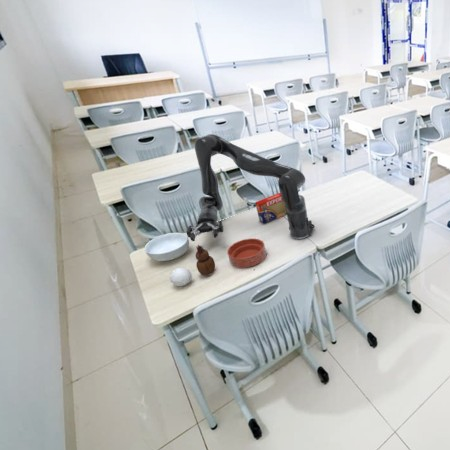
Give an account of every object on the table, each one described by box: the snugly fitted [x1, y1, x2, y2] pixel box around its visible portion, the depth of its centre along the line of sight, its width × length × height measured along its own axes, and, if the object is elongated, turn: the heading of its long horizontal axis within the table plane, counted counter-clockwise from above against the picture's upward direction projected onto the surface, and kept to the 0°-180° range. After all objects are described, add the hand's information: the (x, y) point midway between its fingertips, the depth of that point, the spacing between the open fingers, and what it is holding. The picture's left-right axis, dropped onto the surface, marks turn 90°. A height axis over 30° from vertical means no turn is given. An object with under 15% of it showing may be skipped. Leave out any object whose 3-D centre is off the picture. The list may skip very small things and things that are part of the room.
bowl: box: [226, 238, 267, 268], centre depth 156 cm, size 15×15×6 cm
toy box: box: [254, 192, 287, 225], centre depth 185 cm, size 18×4×12 cm, turn 138°
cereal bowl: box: [144, 232, 190, 262], centre depth 157 cm, size 17×17×7 cm
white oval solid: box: [165, 267, 193, 287], centre depth 140 cm, size 10×7×7 cm
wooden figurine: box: [195, 244, 216, 276], centre depth 145 cm, size 7×6×15 cm
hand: (203, 237), depth 151 cm, fingers open, 8 cm apart
